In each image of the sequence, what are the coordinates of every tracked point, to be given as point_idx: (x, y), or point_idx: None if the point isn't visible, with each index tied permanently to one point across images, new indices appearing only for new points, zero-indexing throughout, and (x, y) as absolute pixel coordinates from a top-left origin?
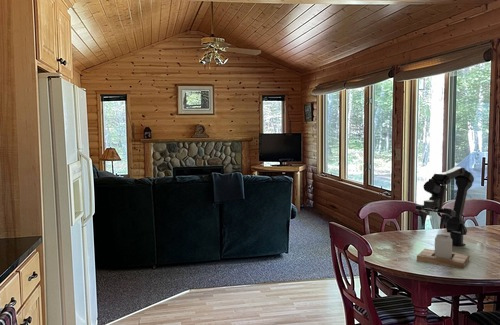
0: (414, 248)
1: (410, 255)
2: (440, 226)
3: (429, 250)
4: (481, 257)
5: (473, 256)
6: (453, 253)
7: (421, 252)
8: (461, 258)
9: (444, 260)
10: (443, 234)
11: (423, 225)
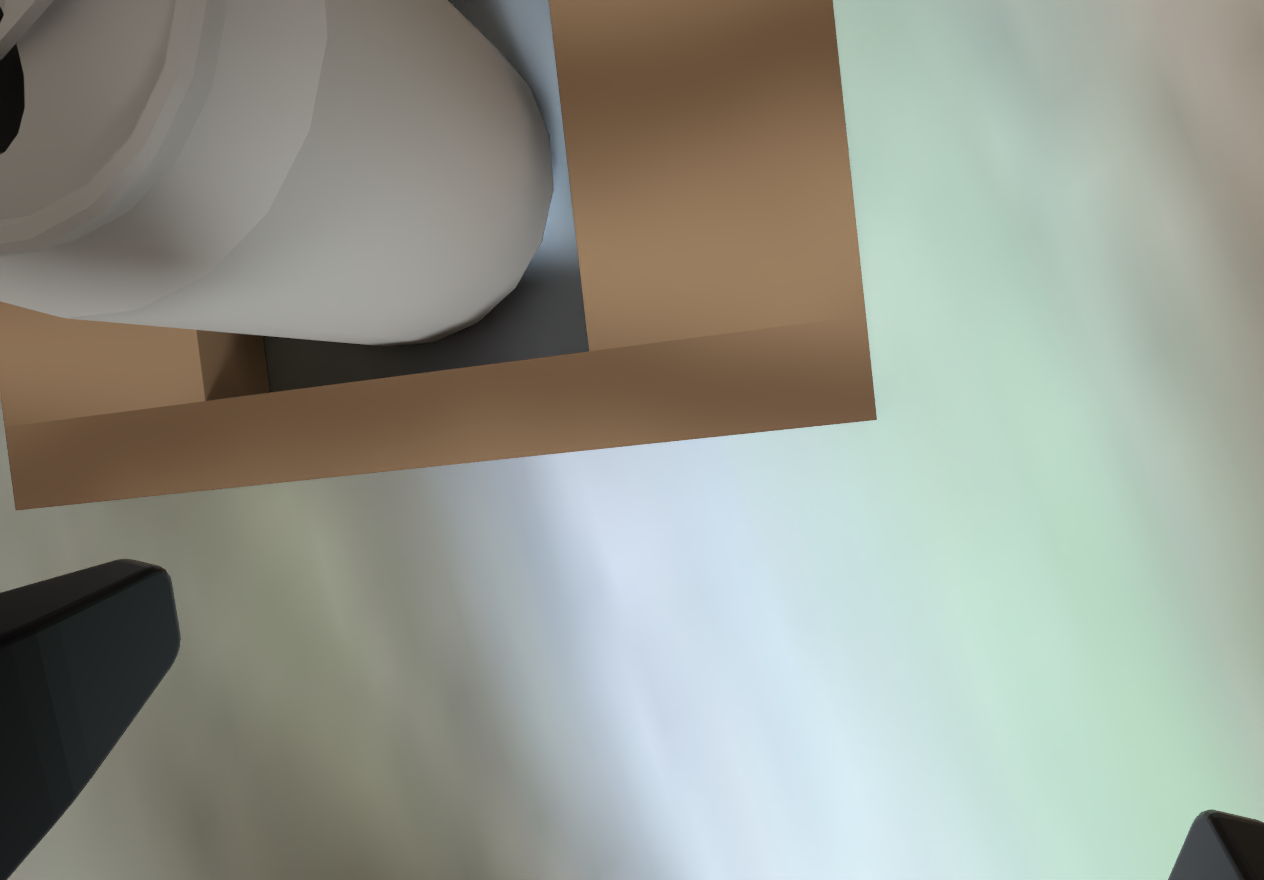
0: (1246, 715)
1: (1082, 44)
2: (49, 594)
3: (720, 333)
4: None
5: (112, 797)
6: (250, 435)
7: (807, 12)
8: None
9: None
10: (42, 211)
11: (1172, 875)
